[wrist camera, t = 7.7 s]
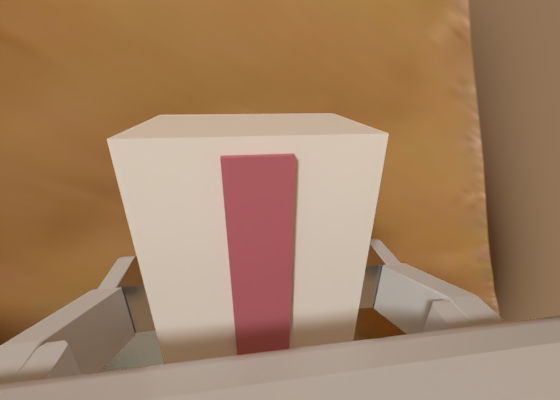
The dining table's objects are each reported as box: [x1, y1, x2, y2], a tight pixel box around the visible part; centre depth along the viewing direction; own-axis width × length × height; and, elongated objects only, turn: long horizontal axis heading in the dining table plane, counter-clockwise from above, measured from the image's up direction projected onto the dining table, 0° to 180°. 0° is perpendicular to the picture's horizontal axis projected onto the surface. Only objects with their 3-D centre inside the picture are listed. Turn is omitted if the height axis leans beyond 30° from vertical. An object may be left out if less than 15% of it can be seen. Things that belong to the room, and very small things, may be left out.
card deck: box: [107, 113, 389, 364], centre depth 10 cm, size 10×6×4 cm, turn 0°
